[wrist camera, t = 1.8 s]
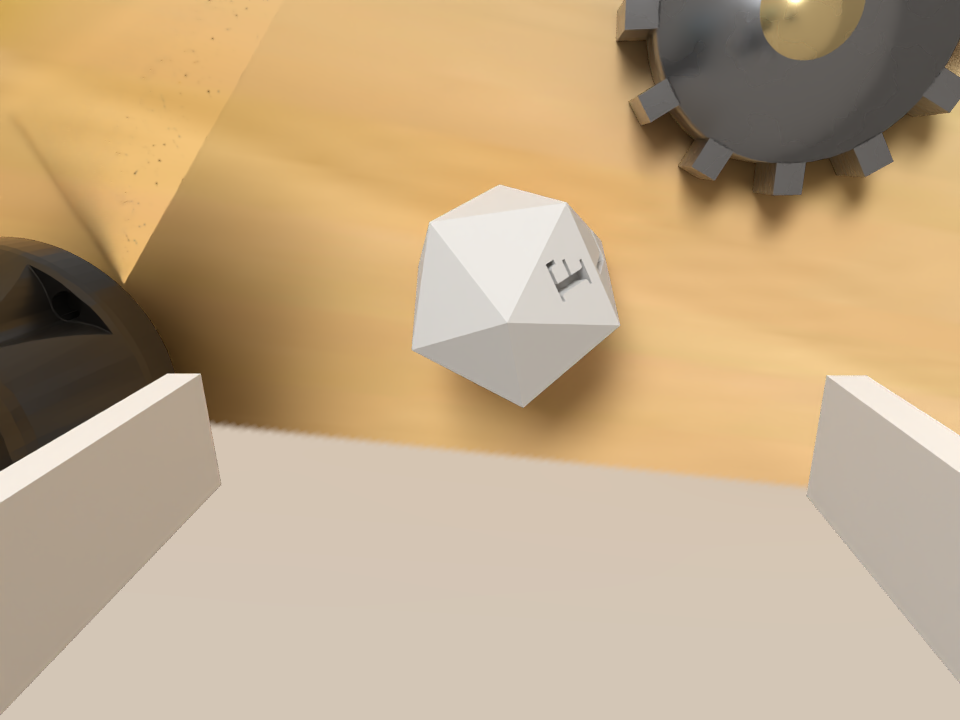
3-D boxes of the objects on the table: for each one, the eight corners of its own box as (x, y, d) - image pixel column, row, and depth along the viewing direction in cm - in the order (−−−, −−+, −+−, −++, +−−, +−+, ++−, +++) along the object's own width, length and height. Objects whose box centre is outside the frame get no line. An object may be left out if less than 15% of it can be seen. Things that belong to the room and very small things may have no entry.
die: (627, 309, 31) (671, 375, 21) (472, 377, 33) (450, 466, 23) (559, 152, 29) (576, 149, 19) (398, 235, 30) (340, 268, 21)
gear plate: (609, 195, 29) (616, 198, 27) (625, -176, 24) (635, -212, 22) (927, 188, 28) (965, 191, 25) (1007, -203, 23) (1062, -245, 21)
